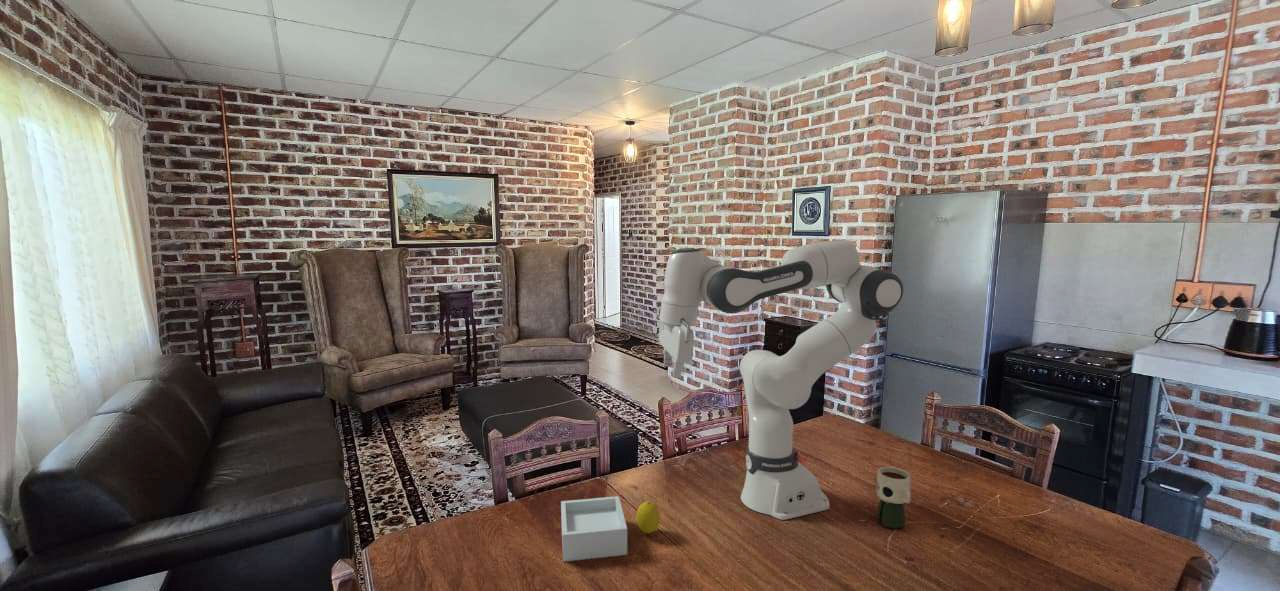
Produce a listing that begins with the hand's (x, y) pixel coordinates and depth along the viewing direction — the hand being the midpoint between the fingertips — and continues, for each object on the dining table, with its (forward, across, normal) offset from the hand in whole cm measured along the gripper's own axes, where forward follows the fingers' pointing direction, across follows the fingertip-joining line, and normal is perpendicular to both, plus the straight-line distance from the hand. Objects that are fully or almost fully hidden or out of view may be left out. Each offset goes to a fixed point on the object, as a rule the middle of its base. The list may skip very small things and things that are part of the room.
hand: (671, 371), depth 126 cm
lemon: (+38, -8, +3) cm, 38 cm away
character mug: (+31, -13, -56) cm, 65 cm away
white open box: (+39, -8, +16) cm, 43 cm away
